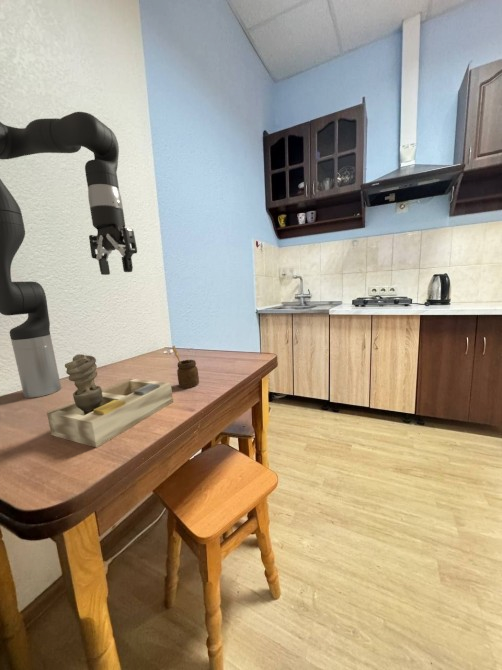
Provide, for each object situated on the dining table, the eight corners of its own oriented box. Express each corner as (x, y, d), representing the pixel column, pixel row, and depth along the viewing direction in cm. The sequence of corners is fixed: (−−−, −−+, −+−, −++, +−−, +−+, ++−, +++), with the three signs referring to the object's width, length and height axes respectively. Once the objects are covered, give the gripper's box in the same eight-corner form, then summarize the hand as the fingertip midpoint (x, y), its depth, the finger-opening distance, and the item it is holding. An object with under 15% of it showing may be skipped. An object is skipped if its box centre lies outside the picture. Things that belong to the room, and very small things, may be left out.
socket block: (51, 435, 57) (46, 409, 56) (133, 396, 76) (130, 376, 75) (96, 447, 51) (91, 419, 50) (173, 401, 70) (170, 380, 69)
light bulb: (93, 429, 56) (79, 357, 54) (71, 428, 58) (55, 358, 55) (112, 415, 62) (100, 350, 59) (91, 415, 63) (78, 351, 60)
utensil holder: (197, 387, 79) (192, 346, 77) (175, 389, 79) (170, 348, 77) (201, 380, 85) (197, 342, 82) (180, 382, 85) (176, 343, 83)
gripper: (74, 210, 70) (85, 275, 73) (113, 198, 64) (124, 270, 67) (101, 215, 77) (110, 275, 80) (138, 206, 71) (147, 271, 73)
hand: (116, 273), depth 73 cm, fingers open, 8 cm apart
